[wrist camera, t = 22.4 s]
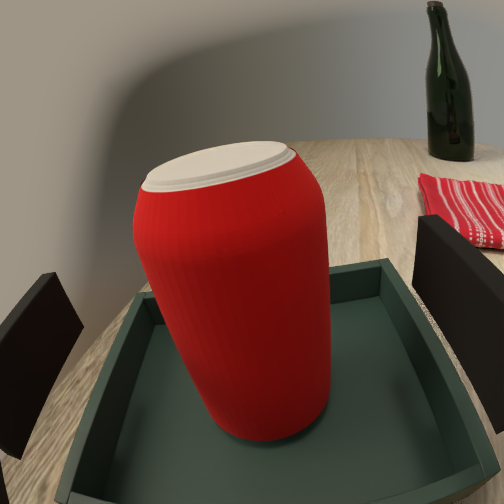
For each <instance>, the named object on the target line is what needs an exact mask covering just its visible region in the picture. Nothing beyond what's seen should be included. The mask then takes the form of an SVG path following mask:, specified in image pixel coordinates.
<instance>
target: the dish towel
mask: <svg viewBox="0 0 504 504" xmlns="http://www.w3.org/2000/svg"><path fill="white" fill-rule="evenodd" d="M418 185H419V189H420V191H421V193H422V195H423V197H424V204H425V211H426V215H432V214H438V215H439V216H440V217H441V218H443V219H444V220H445V221H446V222H447V223H449V224H450V225H451V226H452V227H453V228H454V229H456V230H457V231H458V232H459V233H460V234H461V235H462V236H464V237H465V238H466V239H467V240H468V241H469V242H470V243H471V244H473V245H474V246H475V247H488V248H498V249H504V185H498V184H490V183H486V182H476V181H470V180H469V181H458V180H455V179H448V178H439V177H432V176H429V175H427V174H423V173H421V174H420V177H419V178H418Z"/></svg>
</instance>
